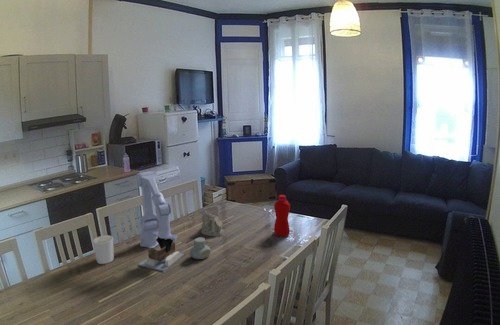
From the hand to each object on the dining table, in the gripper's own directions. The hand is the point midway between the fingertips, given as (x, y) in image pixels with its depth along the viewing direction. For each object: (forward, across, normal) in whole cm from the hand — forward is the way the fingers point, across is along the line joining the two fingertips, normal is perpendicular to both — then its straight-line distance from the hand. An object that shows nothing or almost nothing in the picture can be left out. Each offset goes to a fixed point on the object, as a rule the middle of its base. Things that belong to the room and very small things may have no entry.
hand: (165, 250), depth 176 cm
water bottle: (+6, -44, -57) cm, 73 cm away
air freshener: (+6, -13, -12) cm, 19 cm away
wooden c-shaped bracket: (+3, +3, 0) cm, 4 cm away
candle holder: (+6, +30, +13) cm, 33 cm away
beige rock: (+6, -2, -44) cm, 44 cm away
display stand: (+6, +3, 0) cm, 7 cm away
